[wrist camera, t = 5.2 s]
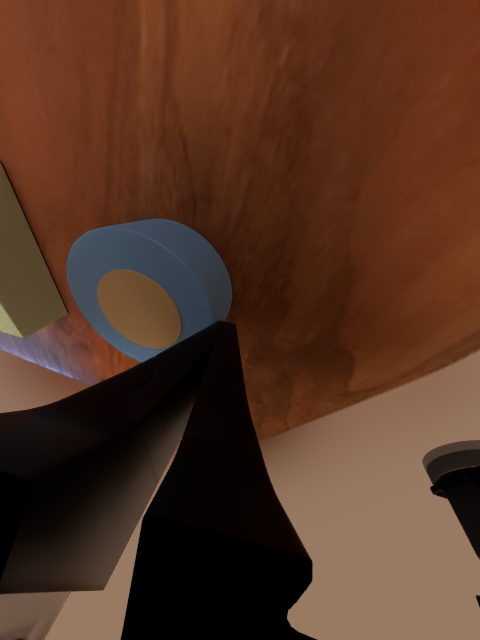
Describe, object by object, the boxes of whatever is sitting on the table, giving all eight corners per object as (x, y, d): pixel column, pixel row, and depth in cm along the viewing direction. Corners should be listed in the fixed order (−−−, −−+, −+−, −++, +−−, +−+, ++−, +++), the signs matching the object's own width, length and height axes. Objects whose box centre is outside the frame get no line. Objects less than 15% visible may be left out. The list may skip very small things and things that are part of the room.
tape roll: (241, 234, 9) (221, 251, 6) (225, 347, 13) (209, 384, 10) (103, 205, 9) (33, 208, 7) (129, 320, 13) (91, 350, 11)
